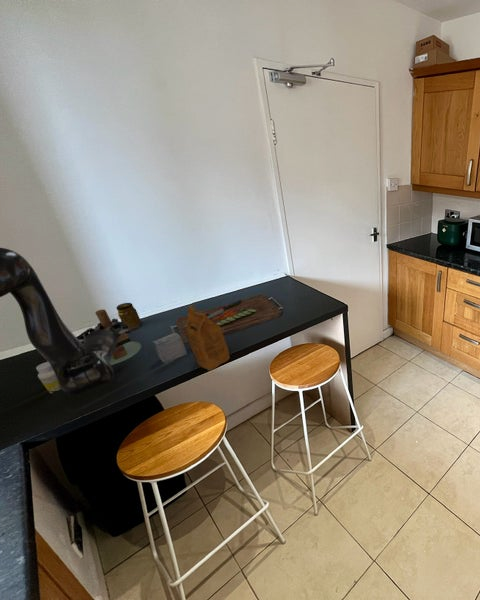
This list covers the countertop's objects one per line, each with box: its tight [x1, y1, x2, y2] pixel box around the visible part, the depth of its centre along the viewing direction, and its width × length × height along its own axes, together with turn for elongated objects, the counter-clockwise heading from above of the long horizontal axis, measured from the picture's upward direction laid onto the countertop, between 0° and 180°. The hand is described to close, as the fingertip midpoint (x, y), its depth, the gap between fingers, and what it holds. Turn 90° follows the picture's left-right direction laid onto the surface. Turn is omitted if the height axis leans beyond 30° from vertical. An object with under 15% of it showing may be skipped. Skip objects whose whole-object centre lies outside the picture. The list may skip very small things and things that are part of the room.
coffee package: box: [187, 305, 231, 371], centre depth 113 cm, size 10×12×22 cm
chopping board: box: [169, 294, 285, 345], centre depth 145 cm, size 45×27×3 cm, turn 130°
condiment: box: [116, 302, 144, 332], centre depth 135 cm, size 7×8×12 cm
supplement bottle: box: [35, 361, 62, 394], centre depth 102 cm, size 5×5×10 cm
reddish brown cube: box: [111, 345, 127, 360], centre depth 118 cm, size 4×4×4 cm
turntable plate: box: [110, 341, 142, 366], centre depth 120 cm, size 16×16×1 cm
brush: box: [95, 308, 132, 348], centre depth 108 cm, size 7×3×14 cm, turn 151°
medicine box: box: [151, 332, 188, 365], centre depth 117 cm, size 8×4×9 cm, turn 145°
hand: (109, 322), depth 110 cm, fingers closed on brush, 2 cm apart
